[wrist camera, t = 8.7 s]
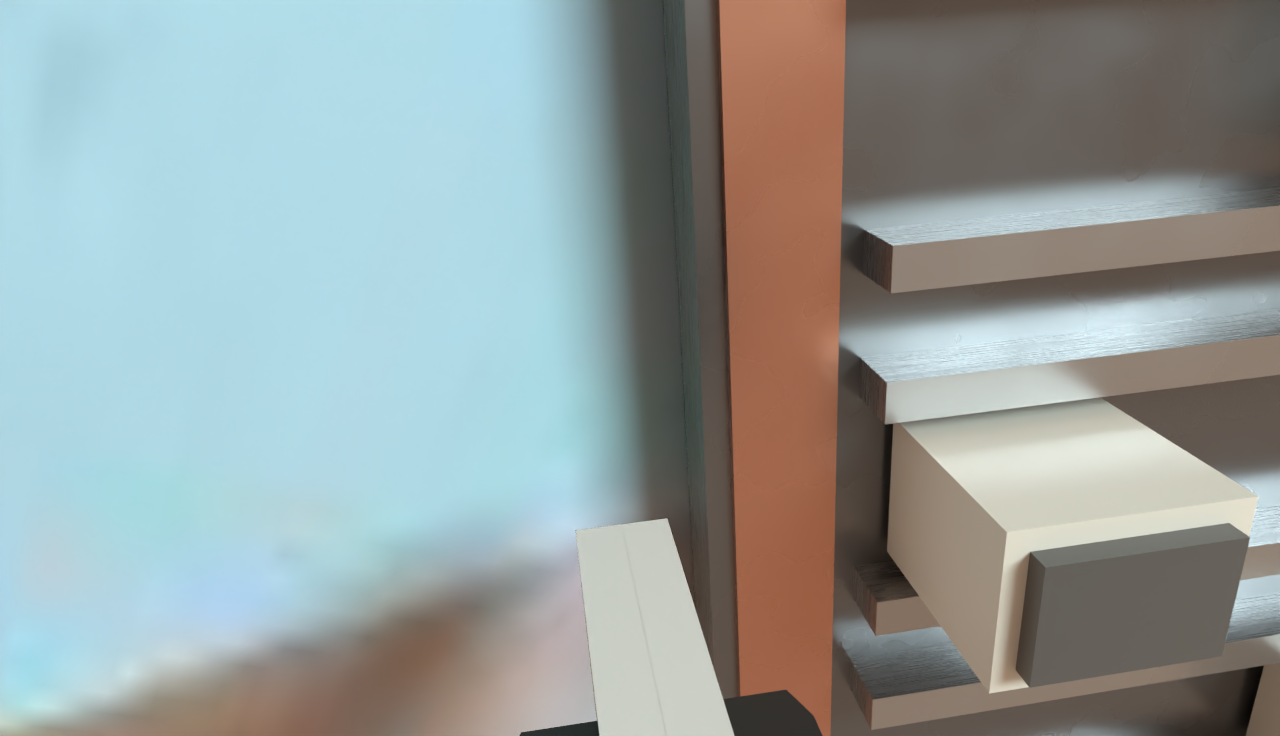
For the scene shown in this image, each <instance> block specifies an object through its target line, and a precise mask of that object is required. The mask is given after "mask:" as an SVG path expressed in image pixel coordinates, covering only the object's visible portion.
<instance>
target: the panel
mask: <svg viewBox="0 0 1280 736" xmlns="http://www.w3.org/2000/svg"><path fill="white" fill-rule="evenodd" d="M663 11H664V29H665V48H666V67H667V86H668V105H669V123H670V142H671V161H672V180H673V198H674V217H675V236H676V255H677V274H678V292H679V311H680V330H681V349H682V367H683V386H684V405H685V424H686V443H687V461H688V480H689V499H690V518H691V537H692V555H693V574H694V593H695V610H696V613H697V616H698V619H699V623H700V626H701V629H702V632H703V636H704V639H705V642H706V645H707V649H708V652H709V655H710V658H711V662H712V665H713V668H714V671H715V674H716V678H717V681H718V684H719V687H720V691H721V694H722V697H723V699H727V698H734V697H740V696H747V695H754V694H760V693H767V692H773V691H780V690H787V691H788V692H789V693H790V694H792V695H793V696H794V697H795V698H796V699H797V700H798V701H799V702H800V703H801V704H802V705H803V706H804V707H805V708H806V709H807V710H808V711H809V712H810V713H811V714H812V715H813V716H814V717H815V720H816V722H817V724H818V727H819V729H820V731H821V733H822V736H1246V733H1247V729H1248V725H1249V721H1250V718H1251V714H1252V710H1253V706H1254V702H1255V698H1256V695H1257V691H1258V687H1259V683H1260V679H1261V676H1262V672H1263V668H1264V665H1269V664H1275V663H1280V0H663ZM1099 397H1100V398H1102V399H1103V400H1105V401H1107V402H1108V403H1110V404H1111V405H1113V406H1115V407H1116V408H1118V409H1119V410H1121V411H1123V412H1124V413H1126V414H1127V415H1129V416H1131V417H1132V418H1134V419H1135V420H1137V421H1139V422H1140V423H1142V424H1143V425H1145V426H1147V427H1148V428H1150V429H1151V430H1153V431H1155V432H1156V433H1158V434H1159V435H1161V436H1163V437H1164V438H1166V439H1167V440H1169V441H1171V442H1172V443H1174V444H1175V445H1177V446H1179V447H1180V448H1182V449H1183V450H1185V451H1187V452H1188V453H1190V454H1191V455H1193V456H1195V457H1196V458H1198V459H1199V460H1201V461H1203V462H1204V463H1206V464H1207V465H1209V466H1211V467H1212V468H1214V469H1215V470H1217V471H1219V472H1220V473H1222V474H1223V475H1225V476H1227V477H1228V478H1230V479H1231V480H1233V481H1235V482H1236V483H1238V484H1239V485H1241V486H1243V487H1244V488H1246V489H1247V490H1249V491H1251V492H1252V493H1254V494H1255V495H1257V496H1259V497H1258V502H1257V506H1256V510H1255V514H1254V519H1253V523H1252V527H1251V531H1250V535H1249V537H1250V540H1249V545H1248V549H1247V553H1246V557H1245V561H1244V566H1243V570H1242V574H1241V578H1240V582H1239V587H1238V591H1237V595H1236V599H1235V604H1234V608H1233V612H1232V616H1231V620H1230V625H1229V629H1228V633H1227V637H1226V641H1225V646H1224V650H1223V654H1222V657H1216V658H1210V659H1204V660H1198V661H1192V662H1186V663H1179V664H1173V665H1167V666H1161V667H1155V668H1149V669H1143V670H1136V671H1130V672H1124V673H1118V674H1112V675H1106V676H1099V677H1093V678H1087V679H1081V680H1075V681H1069V682H1063V683H1056V684H1050V685H1044V686H1038V687H1032V688H1029V687H1026V688H1020V689H1014V690H1008V691H1002V692H996V693H988V691H987V690H986V688H985V687H984V686H983V684H982V683H981V681H980V680H979V679H978V677H977V676H976V674H975V673H974V672H973V670H972V669H971V668H970V666H969V665H968V663H967V662H966V661H965V659H964V658H963V656H962V655H961V654H960V652H959V651H958V649H957V648H956V647H955V645H954V644H953V642H952V641H951V640H950V638H949V637H948V636H947V634H946V633H945V631H944V630H943V629H942V627H941V626H940V624H939V623H938V622H937V620H936V619H935V617H934V616H933V615H932V613H931V612H930V610H929V609H928V608H927V606H926V605H925V604H924V602H923V601H922V599H921V598H920V597H919V595H918V594H917V592H916V591H915V590H914V588H913V587H912V585H911V584H910V583H909V581H908V580H907V578H906V577H905V576H904V574H903V573H902V572H901V570H900V569H899V567H898V566H897V565H896V563H895V562H894V560H893V559H892V558H891V556H890V555H889V553H888V552H887V541H888V521H889V500H890V480H891V459H892V439H893V423H901V422H909V421H917V420H925V419H933V418H941V417H949V416H957V415H965V414H972V413H980V412H988V411H996V410H1004V409H1012V408H1020V407H1028V406H1036V405H1044V404H1051V403H1059V402H1067V401H1075V400H1083V399H1091V398H1099Z"/></svg>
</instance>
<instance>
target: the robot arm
mask: <svg viewBox="0 0 1280 736" xmlns="http://www.w3.org/2000/svg"><path fill="white" fill-rule="evenodd" d="M575 531H576V540H577V549H578V558H579V567H580V576H581V585H582V594H583V603H584V612H585V621H586V630H587V639H588V648H589V657H590V666H591V674H592V683H593V691H594V700H595V709H596V717H597V721H593V722H587V723H580V724H574V725H567V726H561V727H554V728H548V729H541V730H535V731H528V732H522V733H521V734H520V736H822V733H821V731H820V729H819V727H818V724H817V722H816V720H815V717H814V716H813V715H812V714H811V713H810V712H809V711H808V710H807V709H806V708H805V707H804V706H803V705H802V704H801V703H800V702H799V701H798V700H797V699H796V698H795V697H794V696H793V695H792V694H790V693H789V692H788V691H787V690H780V691H773V692H767V693H760V694H754V695H747V696H740V697H734V698H727V699H723V697H722V694H721V691H720V687H719V684H718V681H717V678H716V674H715V671H714V668H713V665H712V662H711V658H710V655H709V652H708V649H707V645H706V642H705V639H704V636H703V632H702V629H701V626H700V623H699V619H698V616H697V613H696V610H695V606H694V603H693V600H692V597H691V594H690V590H689V587H688V584H687V581H686V577H685V574H684V571H683V568H682V564H681V561H680V558H679V555H678V551H677V548H676V545H675V542H674V539H673V535H672V532H671V529H670V526H669V522H668V519H667V518H666V519H658V520H650V521H643V522H635V523H627V524H620V525H612V526H604V527H597V528H589V529H582V530H575Z"/></svg>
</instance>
